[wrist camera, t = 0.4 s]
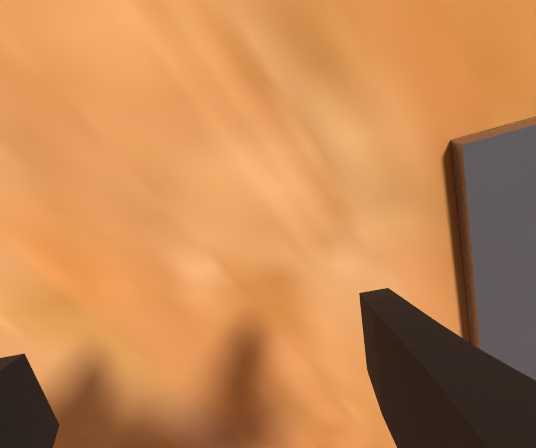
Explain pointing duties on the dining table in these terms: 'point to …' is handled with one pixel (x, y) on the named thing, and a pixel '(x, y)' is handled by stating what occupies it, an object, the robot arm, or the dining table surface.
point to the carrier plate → (499, 239)
